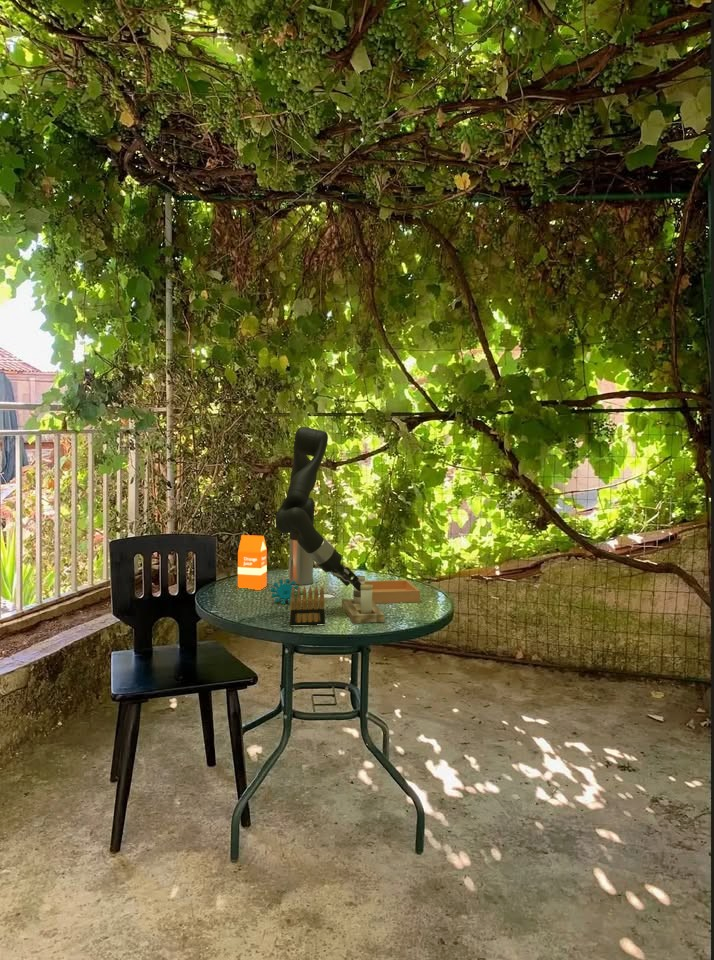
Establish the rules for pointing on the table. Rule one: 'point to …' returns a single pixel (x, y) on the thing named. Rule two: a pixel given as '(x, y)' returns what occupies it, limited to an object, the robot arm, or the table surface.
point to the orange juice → (252, 562)
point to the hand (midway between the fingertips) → (354, 586)
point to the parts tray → (394, 591)
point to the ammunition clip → (307, 607)
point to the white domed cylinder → (358, 593)
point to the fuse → (366, 598)
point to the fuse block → (356, 617)
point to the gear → (284, 591)
